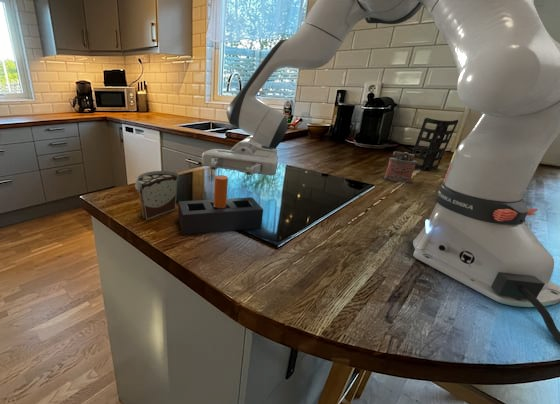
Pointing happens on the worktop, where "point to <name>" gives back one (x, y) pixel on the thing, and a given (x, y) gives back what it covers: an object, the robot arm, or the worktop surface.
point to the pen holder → (219, 216)
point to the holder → (433, 143)
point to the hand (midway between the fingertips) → (230, 169)
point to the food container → (157, 192)
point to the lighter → (400, 167)
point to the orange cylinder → (220, 192)
